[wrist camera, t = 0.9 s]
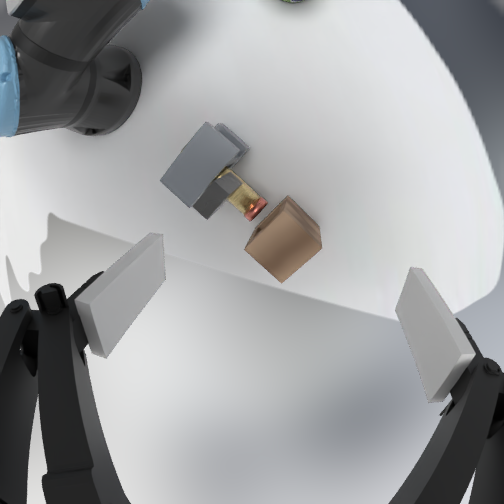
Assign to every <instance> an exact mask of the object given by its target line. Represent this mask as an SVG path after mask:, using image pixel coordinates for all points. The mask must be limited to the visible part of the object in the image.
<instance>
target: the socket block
mask: <svg viewBox="0 0 504 504" xmlns="http://www.w3.org/2000/svg"><path fill="white" fill-rule="evenodd" d="M321 249H322V243H321V236H320V229H319V226H318V225H317V224H316V223H315V222H314V221H313V220H312V219H311V218H310V217H309V216H308V215H307V214H306V213H305V212H304V211H303V210H302V209H301V208H300V207H299V206H298V205H297V204H296V203H295V202H294V201H293V200H292V199H291V198H290V197H289V196H287V197H286V198H285V199H284V200H283V201H282V202H281V203H280V204H279V205H278V206H277V207H276V208H275V209H274V210H273V211H272V212H271V213H270V214H269V215H268V216H267V217H266V218H265V219H264V220H263V221H262V222H261V223H260V224H259V225H258V226H257V227H256V228H255V230H254V231H253V233H252V235H251V237H250V239H249V241H248V243H247V245H246V247H245V249H244V250H245V251H246V252H247V253H248V254H250V255H251V256H252V257H253V258H254V259H255V260H256V261H257V262H258V263H259V264H261V265H262V266H263V267H264V268H265V269H266V270H267V271H268V272H269V273H271V274H272V275H273V276H274V277H275V278H276V279H277V280H278V281H279V282H280V283H283V282H284V281H285V280H286V279H287V278H288V277H290V276H291V275H292V274H293V273H294V272H296V271H297V270H298V269H299V268H300V267H301V266H302V265H304V264H305V263H306V262H307V261H308V260H309V259H311V258H312V257H313V256H314V255H315V254H316V253H317V252H319V251H320V250H321Z"/></svg>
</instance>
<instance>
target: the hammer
mask: <svg viewBox="0 0 504 504" xmlns="http://www.w3.org/2000/svg"><path fill="white" fill-rule="evenodd" d="M185 147H186V146H185ZM185 147H184V148H185ZM184 148H183V149H184ZM181 152H182V151H181ZM227 200H228V201H229V202H231V203H232V204H233V205H234V206H235V207H236V208H237V209H238V210H239V211H240V212H241V213H243V214H244V216H245V217H246V218H247V219H248V220H249V221H252V220H253V219H254V218H255V217H256V216H257V215H258V214H259V213H260V212H261V211H262V210H263V208H264V207H265V206H266V205H267V203H268V202H267V201H266V200H265V199H264V198H262V197H260V196H259V195H258V194H257V193H256V192H255V191H254V190H253V189H252V188H250V187H249V186H248V185H247V184H246V183H245V182H244V181H243V180H242V179H241V178H240V177H238V176H237V175H236V174H235V173H234V172H233V171H232V170H231V169H230V168H229V167H227V166H226V167H225V168H224V169H223V170H222V172H221V173H220V174H219V175H218V176H217V177H216V178H215V180H214V181H213V182H212V183H211V185H210V186H209V187H208V188H207V189H206V191H205V192H204V193H203V194H202V195H201V196H200V198H199V199H198V200H197V201H196V202H195V204H194V205H193V207H194V208H195V209H196V210H197V211H198V212H199V213H200V214H201V215H202V216H203V217H205V218H206V219H208V218H210V217H211V216H212V215H213V214H214V213H215V212H216V211H217V210H218V209H219V208H220V207H222V206H223V205H224V204H225V203H226V201H227Z"/></svg>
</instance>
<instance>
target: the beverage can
mask: <svg viewBox="0 0 504 504" xmlns="http://www.w3.org/2000/svg"><path fill="white" fill-rule="evenodd" d="M282 1H286V2H301V1H304V0H282Z"/></svg>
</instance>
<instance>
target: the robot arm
mask: <svg viewBox="0 0 504 504" xmlns="http://www.w3.org/2000/svg"><path fill="white" fill-rule="evenodd" d="M149 1H150V0H6V4H7V10H8V14H9V15H11V16H14V17H17V18H20V20H19V21H18V23H17V24H16V26H15V27H14V29H13V31H12V32H11V34H10V35H9V36H8V37H7V36H5V35H2V36H0V137H4V136H6V137H12V136H15V135H20V134H25V133H31V132H36V131H42V130H49V129H55V128H67V129H69V130H72V131H74V132H77V133H80V134H82V135H87V136H96V135H104V134H107V133H110V132H112V131H114V130H115V129H117V128H118V127H120V126H121V125H122V124H123V123H124V122H125V121H126V120H127V118H128V117H129V116H130V114H131V113H132V111H133V109H134V108H135V106H136V103H137V101H138V98H139V95H140V90H141V82H142V77H141V70H140V66H139V63H138V61H137V59H136V58H135V56H134V55H133V54H132V53H131V52H130V51H128V50H126V49H124V48H121V47H118V46H114V45H107V43H108V42H109V41H110V40H111V39H112V38H113V37H114V36H115V35H116V34H117V33H118V32H119V30H120V29H121V28H122V27H123V26H124V25H125V24H126V23H127V22H128V21H129V20H130V19H131V18H132V17H133V16H134V15H136V14H137V13H138V12H139V11H140V10H143V9H144V8H145V6H146V4H147V3H148V2H149ZM165 280H166V276H165V264H164V247H163V234H156V233H149V234H148V235H147V236H146V237H144V238H143V239H142V240H141V241H140V242H138V243H137V244H136V245H135V246H134V247H133V248H131V249H130V250H129V251H128V252H127V253H126V254H125V255H123V256H122V257H121V258H120V259H119V260H117V261H116V262H115V263H114V264H113V265H112V266H111V267H109V268H108V269H107V270H106V271H105V272H104V271H102V272H99V273H97V274H95V275H93V276H92V277H91V278H90V279H89V280H88V281H87V282H86V283H84V284H83V285H82V286H81V287H80V288H79V289H78V290H77V291H75V292H74V293H73V294H72V295H71V296H70V297H69V298H68V299H66V295H65V292H64V288H63V286H62V285H60V284H56V283H51V284H47V285H44V286H42V287H41V288H39V289H38V290H37V291H36V293H35V299H36V302H37V304H38V307H39V310H31V309H30V306H29V303H28V302H27V301H26V300H24V299H19V300H14V301H12V302H11V303H9V304H8V305H7V306H6V308H5V310H4V311H3V313H2V315H1V317H0V504H27V478H28V460H29V449H30V440H31V432H32V426H33V419H34V413H35V407H36V402H37V397H38V396H39V411H40V421H41V431H42V439H43V445H44V452H45V458H46V463H47V470H48V471H47V474H45V475H43V476H42V488H43V492H44V496H45V500H46V504H131V503H130V502H129V500H128V499H127V497H126V495H125V493H124V491H123V489H122V486H121V483H120V481H119V479H118V476H117V473H116V470H115V468H114V465H113V462H112V459H111V456H110V453H109V450H108V447H107V444H106V441H105V438H104V434H103V430H102V427H101V423H100V420H99V416H98V412H97V408H96V404H95V399H94V395H93V391H92V386H91V382H90V376H89V370H88V365H87V359H86V354H85V351H84V348H85V347H86V345H87V344H89V346H90V349H91V352H92V353H93V354H95V355H98V356H100V357H104V358H107V357H108V356H109V354H110V353H111V351H112V350H113V349H114V347H115V346H116V344H117V343H118V342H119V340H120V339H121V338H122V336H123V335H124V334H125V332H126V331H127V329H128V328H129V327H130V325H131V324H132V323H133V321H134V320H135V319H136V317H137V316H138V314H139V313H140V312H141V311H142V309H143V308H144V307H145V306H146V304H147V303H148V302H149V300H150V299H151V298H152V296H153V295H154V294H155V292H156V291H157V290H158V289H159V287H160V286H161V285H162V283H163V282H164V281H165ZM395 311H396V314H397V316H398V318H399V321H400V323H401V326H402V328H403V331H404V333H405V336H406V339H407V341H408V344H409V347H410V349H411V352H412V355H413V357H414V360H415V363H416V366H417V369H418V372H419V375H420V378H421V381H422V384H423V387H424V390H425V393H426V396H427V399H428V403H432V402H443V401H444V399H445V398H446V397H447V395H448V394H449V393H451V396H452V400H451V401H450V403H449V404H448V405H447V406H446V407H445V409H444V410H443V411H442V412H441V413H440V416H442V415H443V416H442V418H441V420H440V423H439V424H438V426H437V428H436V430H435V432H434V434H433V436H432V438H431V439H430V441H429V443H428V445H427V447H426V448H425V450H424V452H423V454H422V455H421V457H420V459H419V460H418V462H417V463H416V465H415V467H414V468H413V470H412V471H411V473H410V474H409V476H408V477H407V479H406V480H405V482H404V483H403V485H402V486H401V487H400V489H399V490H398V492H397V493H396V494H395V496H394V497H393V498H392V500H391V501H390V502H389V504H460V502H461V500H462V498H463V496H464V494H465V492H466V490H467V488H468V486H469V483H470V481H471V479H472V476H473V474H474V472H475V477H474V482H473V487H472V491H471V496H470V500H469V504H504V373H503V372H502V371H501V368H500V366H499V365H498V364H497V363H496V362H495V361H493V360H491V359H489V358H484V357H483V356H482V354H481V352H480V350H479V348H478V347H477V345H476V343H475V341H474V340H473V339H472V336H471V335H470V334H469V331H468V330H467V328H466V326H465V325H464V324H463V323H462V322H461V321H460V320H459V319H458V318H455V317H454V315H453V314H452V312H451V311H450V309H449V307H448V306H447V304H446V303H445V301H444V300H443V298H442V297H441V295H440V294H439V292H438V291H437V289H436V288H435V286H434V285H433V283H432V282H431V280H430V279H429V278H428V276H427V275H426V273H425V272H424V271H423V269H421V268H414V267H410V269H409V272H408V275H407V278H406V281H405V284H404V287H403V290H402V293H401V295H400V298H399V301H398V303H397V306H396V309H395ZM20 349H21V350H20ZM38 394H39V395H38ZM443 413H444V414H443ZM475 469H476V471H475Z"/></svg>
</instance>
